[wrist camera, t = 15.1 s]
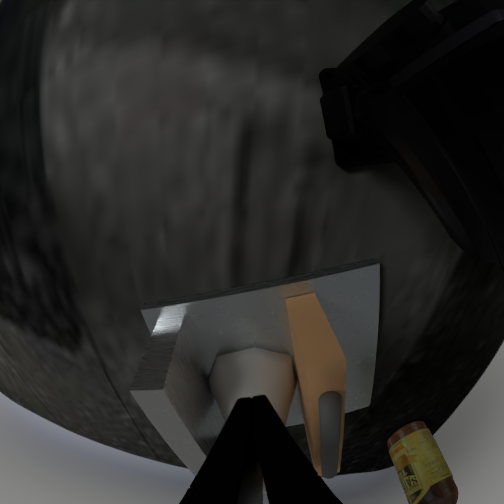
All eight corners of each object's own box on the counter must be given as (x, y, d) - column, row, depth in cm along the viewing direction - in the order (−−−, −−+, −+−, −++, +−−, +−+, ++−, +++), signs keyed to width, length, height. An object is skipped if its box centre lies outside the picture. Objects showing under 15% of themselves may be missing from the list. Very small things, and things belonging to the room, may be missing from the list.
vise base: (373, 258, 19) (434, 316, 12) (366, 399, 25) (392, 458, 17) (144, 303, 20) (105, 377, 12) (205, 429, 25) (200, 493, 18)
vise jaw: (314, 292, 19) (353, 376, 11) (323, 414, 24) (342, 482, 16) (285, 298, 19) (310, 387, 11) (303, 418, 24) (318, 488, 16)
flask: (292, 404, 23) (310, 499, 13) (210, 404, 23) (204, 503, 13) (303, 343, 20) (336, 457, 11) (205, 344, 20) (189, 462, 11)
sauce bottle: (385, 431, 28) (432, 553, 9) (427, 411, 27) (483, 523, 9) (383, 450, 30) (422, 555, 12) (421, 433, 30) (466, 531, 11)
